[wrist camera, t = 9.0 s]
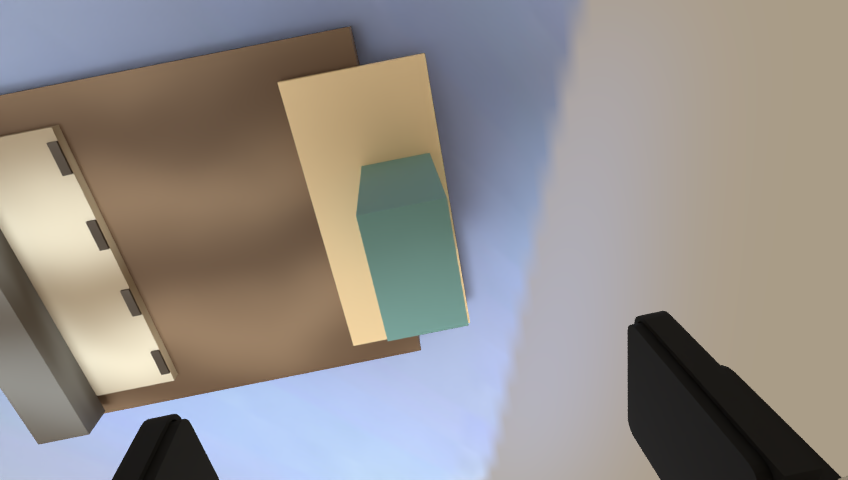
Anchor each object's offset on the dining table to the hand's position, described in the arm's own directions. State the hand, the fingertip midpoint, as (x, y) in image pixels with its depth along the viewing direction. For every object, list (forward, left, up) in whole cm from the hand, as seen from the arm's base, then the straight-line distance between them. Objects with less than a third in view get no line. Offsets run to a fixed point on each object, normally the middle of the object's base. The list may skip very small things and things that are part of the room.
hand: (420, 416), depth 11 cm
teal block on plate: (0, -1, -14) cm, 14 cm away
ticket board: (0, -11, -15) cm, 19 cm away
